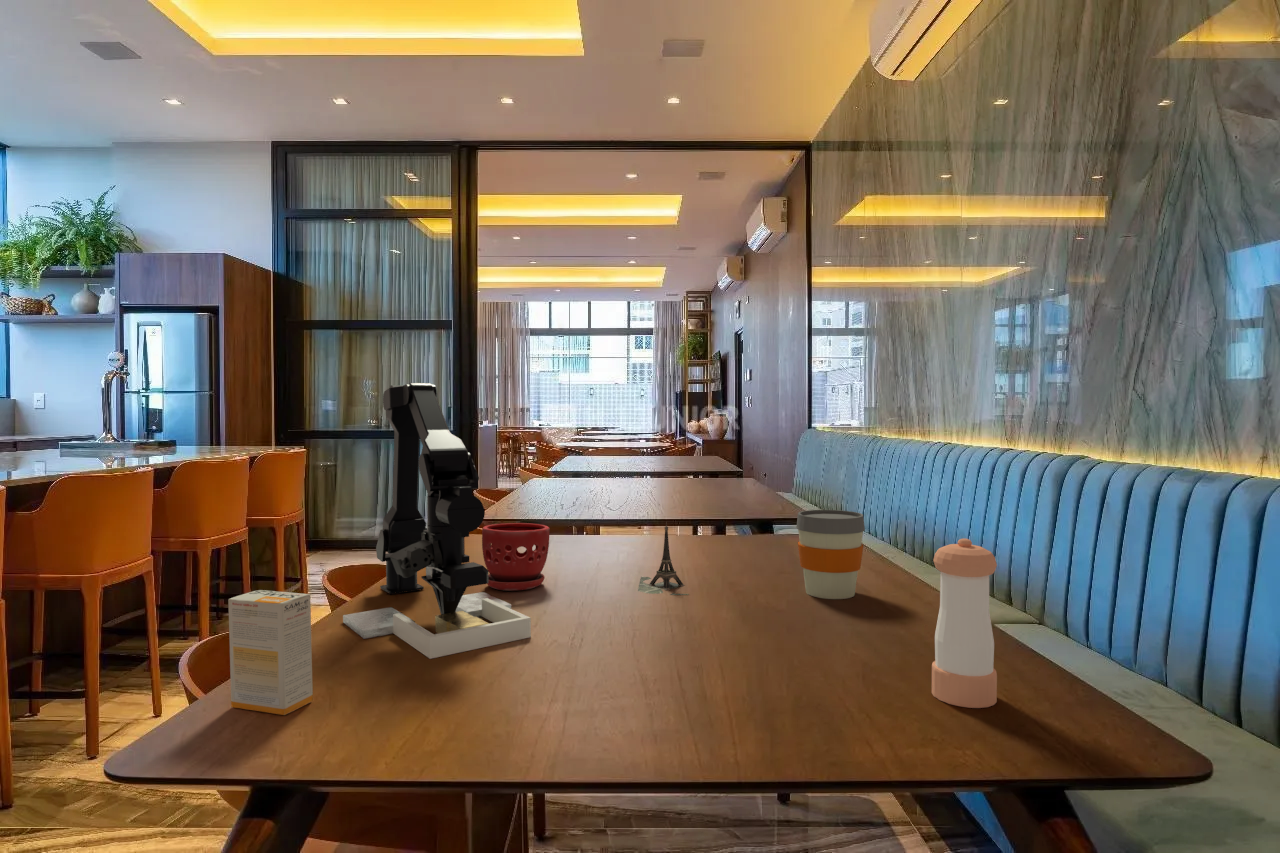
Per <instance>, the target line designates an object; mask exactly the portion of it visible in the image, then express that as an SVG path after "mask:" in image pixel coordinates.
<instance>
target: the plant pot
mask: <svg viewBox="0 0 1280 853" xmlns="http://www.w3.org/2000/svg"><path fill="white" fill-rule="evenodd" d="M481 546H482V548H481V549H482V556H483V561H484V565H485V568H486V569H487V570H488V577H489V583H487V584H486V585H488V587H490V588H492V589H496V590H499V591H503V592H510V591H514V592H515V591H525V590H532V589H535V588H537V587H538V586H541V584H543V582H544V581H545V575H544V574H543V573H542V571H543V569H544V567H545V565H546V563H547V560H548V559H547V558H548V553H549V547H550V527H549V526H547V525H545V524H539V523H529V522H528V523H527V522H514V523H513V522H507V523H493V524H489V525H484V526H483V527H482V530H481ZM534 546H535V549H534V550H533V547H534ZM521 547H523V548H525V551H524V552H520V551H519V550H518V549H519V548H521Z"/></svg>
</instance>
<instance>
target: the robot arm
mask: <svg viewBox="0 0 1280 853" xmlns="http://www.w3.org/2000/svg"><path fill="white" fill-rule="evenodd" d="M437 392H438V391H437V388H436V385H435V384H432V383H430V382H409V383H407V384H404V385H401V384H400V385H398V384H397V385H396V384H395V385H394V384H392V385H389V388H387V389H385V391H384V392H383V395H382V405H383V409H384V411H385V417H386V419H387V421H388V422H389V424H390V426H391V427H392V428H393V431H394V436H393V437H394V439H393V442H394V443H393V467H392V468H393V470H392V472H393V476H392V477H393V478H392V505H391V507H390V508H389V509H388V511H387V513H386V514H385V515H384V517H383V518H382V519H383V521H382V529H380V531H379V535H378V538H377V542H376V543H377V544H376V546H375V550H376V551H375V552H376V559H377V560H379V561H380V562H381V563H385V572H386V573H385V574H386V576H385V577H386V580H385V582H386V584H382V585H379V586H380V587H379V588H380V589H381V590H383V591H384V592H385V593H388V594H390V595H395V594H402V593H407V592H408V593H409V592H414V591H421V590H424V589H425V588H424V586H423V585H422V584H419V583H418V572H419V571H421V570H423V569H425V575H422V576H421V579H422V580H423V581H425V582H426V583H427V584H428V585H430V587H431V588H432V589H433V592H434V596H435V599H436V601H437V605H438V608H439V612H440V615H441V614H447V613H452V612H455V611H456V608H457V606H458V604H459V602H460V600H461V598H462V596H463V595H465V592H466V590H467V588H469V587H474V586H482V585H488V584H487V583H489V577H488V575H489V572H488V570H487V567H486V566H484V565H482V564H479V563H477V562H475V561H472V562H470V555H468V554H466V553H465V549H466V548H465V547H466V546H465V538H468V537H470V533H472V532H474V531H475V530H477V529H478V528H479V527H480V526H481V525H482V523H483V522H484V519H485V515H486V514H485V508H484V505H483V503H482V501H481V500H480V499H479V497H477V496H475V495H472V494H473V493H472V491H473V490H475V489H476V490H477V489H479V484H478V483H479V479H480V478H479V474H478V471H477V469H476V466H475V463H474V460H473V458H472V456H471V453H470V452H468V449H467V448H466V445H465V444H464V442H463V439H461V438H459V437H458V436H456V435H455V434H452V433H451V431H450V429H449V427H448V424H447V421H446V419H445V416H444V413H443V411H442V408H441V405H440V403H439V400H438V398H437V395H438V393H437ZM420 441H421V444H422V447H421V452H420ZM420 453H421V454H420ZM419 474H420V477H421V480H422V482H423V485H424V487H425V490H426V493H427V496H426V497H427V498H426V501H427V502H426V503H427V506H426V507H427V508H426V509H427V523H426V520H425V519H424V517H423V515H422V514H421V512H420V510H419V509H418V497H419V496H418V494H419Z"/></svg>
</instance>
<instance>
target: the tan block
mask: <svg viewBox="0 0 1280 853" xmlns="http://www.w3.org/2000/svg"><path fill="white" fill-rule="evenodd" d="M471 617H474V616H472V615H470V614H468V613H466V612H464V611H458V612H452V613H447V614H441V613H440V614H436V615H435V618H434V619H435V620H434V621H435V632H436V634H439V633H444V632H449V627H448V622H449V621H455V620H460V619H465V618H471Z"/></svg>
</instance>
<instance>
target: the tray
mask: <svg viewBox="0 0 1280 853" xmlns="http://www.w3.org/2000/svg"><path fill="white" fill-rule="evenodd" d="M400 613H401V612H400ZM400 613H397V614H393V633H392V634H394V635H395V636H396V637H398V638H399V639H400V640H402V641H404V642H405V643H407V644H408V645H409V646H411V647H412V648H414V649H416V651H418V652H420V653H421V654H423V655H424V656H425V657H426V658H428V659H430V660H431V659H436V658H439V657H440V658H441V657H445V656H450V655H454V654H458V653H463V652H467V651H468V652H469V651H472V650H477V649H481V648H485V647H491V646H496V645H500V644H505V643H509V642H515V641H519V640H524V639H528V638H531V637H532V632H531V631H532V629H531V625H532V623H531V622H532V620H531V619H532V618H531V617H530V616H528V615H526V614H524V613H521V612H519V611H517V610H514V609H512V608H511V609H510V608H508V607H506V606H504V605H501V604H499V603H497V602H495V601H493V600H490V599H488V598H485V599H482V617H481V618H483V619H486V620H488V621H489V622H492V623H488V624H485V625H480V626H475V627H470V628H465V629H460V630H455V631H449V632H444V633H435V634H434V633H432V632H431V631H430V630H427V629H425V627H422V626H421V625H419V624H418V623H416V621H415V622H413V621H414V620H413V621H411V620H410V619H411V618H410V619H408V618H409V617H408V618H406V617H405V616H406V615H405V616H403V615H404V614H403V613H402V614H403V615H402V614H400Z"/></svg>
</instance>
